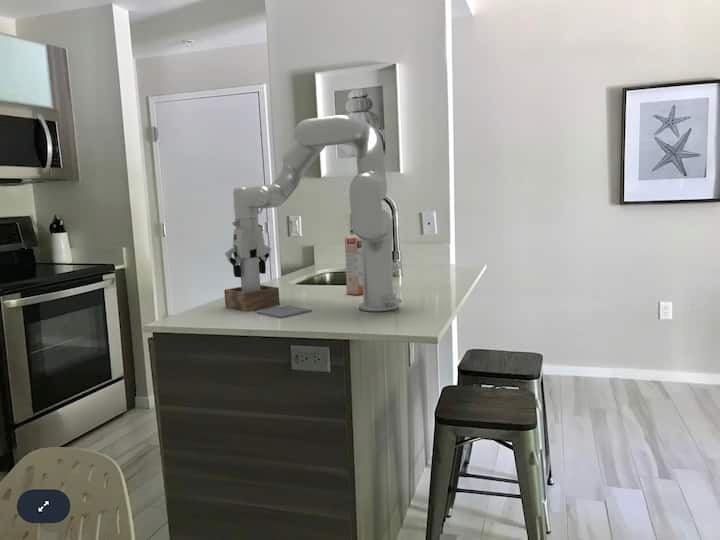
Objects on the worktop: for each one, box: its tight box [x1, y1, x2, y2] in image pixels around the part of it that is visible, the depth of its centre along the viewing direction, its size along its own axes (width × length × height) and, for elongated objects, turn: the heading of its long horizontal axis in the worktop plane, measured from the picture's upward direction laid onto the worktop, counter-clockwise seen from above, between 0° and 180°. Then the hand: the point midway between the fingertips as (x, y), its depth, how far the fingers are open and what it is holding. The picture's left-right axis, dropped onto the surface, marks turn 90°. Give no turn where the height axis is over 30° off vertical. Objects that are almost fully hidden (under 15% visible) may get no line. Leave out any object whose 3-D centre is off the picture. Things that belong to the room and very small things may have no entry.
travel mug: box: [239, 249, 261, 293], centre depth 194 cm, size 6×7×20 cm
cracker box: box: [344, 235, 363, 296], centre depth 212 cm, size 14×6×21 cm, turn 146°
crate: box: [224, 284, 281, 313], centre depth 195 cm, size 13×13×6 cm
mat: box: [257, 304, 313, 319], centre depth 183 cm, size 12×12×1 cm
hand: (250, 275), depth 194 cm, fingers open, 9 cm apart
